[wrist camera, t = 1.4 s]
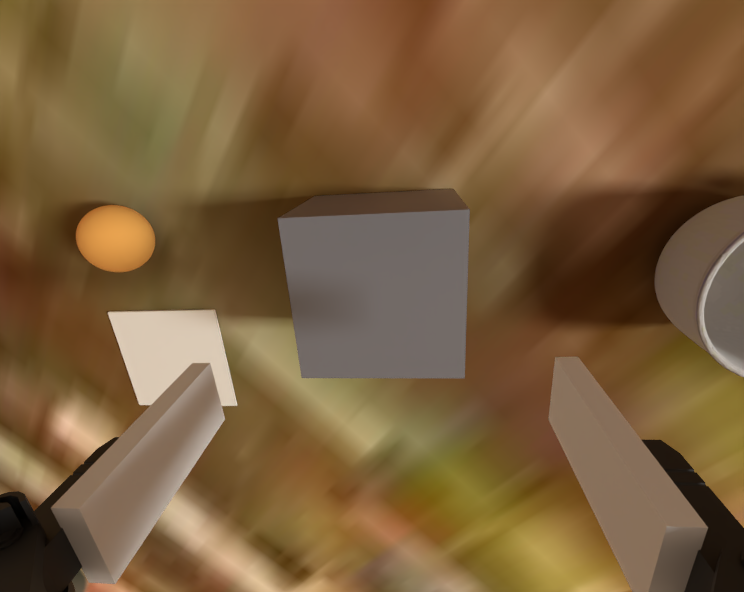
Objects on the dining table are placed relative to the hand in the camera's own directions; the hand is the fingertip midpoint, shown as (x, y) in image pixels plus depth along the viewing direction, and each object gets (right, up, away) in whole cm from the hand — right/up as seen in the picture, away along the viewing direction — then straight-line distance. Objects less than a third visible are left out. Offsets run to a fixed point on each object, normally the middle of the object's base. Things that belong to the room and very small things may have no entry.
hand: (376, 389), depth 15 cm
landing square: (-18, -2, +21) cm, 28 cm away
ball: (-19, +8, +14) cm, 25 cm away
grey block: (+1, +6, +16) cm, 17 cm away
